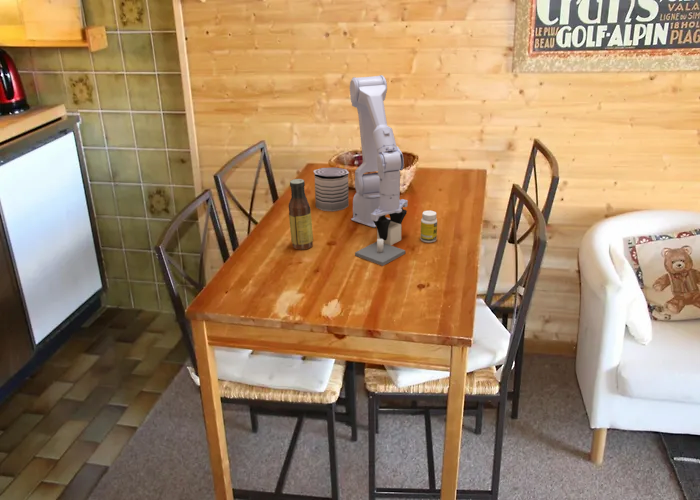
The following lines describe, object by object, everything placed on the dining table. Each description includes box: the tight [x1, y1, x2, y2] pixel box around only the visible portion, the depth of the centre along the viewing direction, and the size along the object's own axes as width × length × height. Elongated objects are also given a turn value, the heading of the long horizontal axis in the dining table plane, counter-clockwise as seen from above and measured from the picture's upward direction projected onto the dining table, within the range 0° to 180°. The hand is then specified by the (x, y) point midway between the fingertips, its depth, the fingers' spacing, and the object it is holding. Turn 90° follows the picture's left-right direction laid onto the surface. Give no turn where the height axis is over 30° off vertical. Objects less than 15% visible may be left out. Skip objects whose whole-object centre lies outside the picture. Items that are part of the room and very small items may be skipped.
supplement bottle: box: [419, 210, 438, 243], centre depth 206 cm, size 5×5×8 cm
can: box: [313, 167, 350, 212], centre depth 231 cm, size 11×11×12 cm
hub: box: [376, 221, 402, 246], centre depth 207 cm, size 5×5×5 cm
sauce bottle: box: [288, 178, 314, 251], centre depth 201 cm, size 7×6×20 cm
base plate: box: [354, 239, 406, 267], centre depth 199 cm, size 10×10×4 cm
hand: (389, 236), depth 207 cm, fingers closed on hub, 5 cm apart
